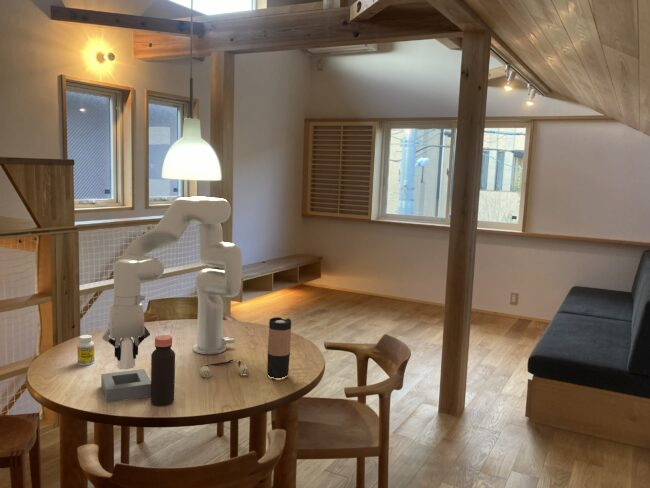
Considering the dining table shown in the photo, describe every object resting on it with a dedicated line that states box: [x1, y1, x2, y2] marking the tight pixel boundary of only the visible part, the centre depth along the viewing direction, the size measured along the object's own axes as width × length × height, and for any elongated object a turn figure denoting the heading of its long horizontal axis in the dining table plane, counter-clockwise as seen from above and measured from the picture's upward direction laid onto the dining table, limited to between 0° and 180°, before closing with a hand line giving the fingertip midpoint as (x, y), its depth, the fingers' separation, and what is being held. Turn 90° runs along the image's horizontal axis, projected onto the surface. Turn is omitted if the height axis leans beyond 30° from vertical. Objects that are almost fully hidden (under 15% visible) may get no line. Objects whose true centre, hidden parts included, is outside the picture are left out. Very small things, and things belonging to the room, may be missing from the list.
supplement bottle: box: [77, 334, 95, 366], centre depth 191 cm, size 5×5×10 cm
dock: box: [100, 368, 151, 404], centre depth 171 cm, size 13×13×4 cm
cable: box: [199, 359, 250, 378], centre depth 193 cm, size 16×16×4 cm
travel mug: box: [266, 316, 292, 378], centre depth 189 cm, size 8×8×20 cm
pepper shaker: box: [116, 337, 136, 370], centre depth 169 cm, size 5×5×11 cm
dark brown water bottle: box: [150, 334, 176, 407], centre depth 164 cm, size 7×7×20 cm
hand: (126, 357), depth 170 cm, fingers closed on pepper shaker, 3 cm apart
